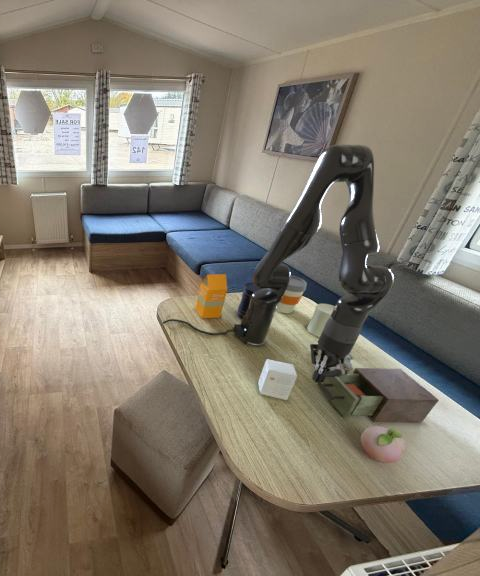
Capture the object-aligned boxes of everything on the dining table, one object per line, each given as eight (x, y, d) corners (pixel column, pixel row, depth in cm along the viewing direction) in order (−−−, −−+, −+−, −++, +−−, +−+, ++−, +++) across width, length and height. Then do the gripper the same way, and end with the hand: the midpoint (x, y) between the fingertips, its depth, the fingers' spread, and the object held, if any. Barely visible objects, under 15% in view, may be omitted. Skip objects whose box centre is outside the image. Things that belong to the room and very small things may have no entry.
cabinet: (373, 422, 91) (388, 399, 87) (343, 389, 103) (355, 367, 98) (421, 422, 92) (439, 400, 87) (386, 390, 103) (400, 368, 98)
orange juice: (195, 309, 145) (203, 270, 136) (212, 308, 146) (222, 270, 137) (201, 318, 138) (210, 278, 129) (220, 317, 139) (230, 278, 130)
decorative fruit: (362, 435, 87) (378, 411, 82) (398, 459, 81) (418, 434, 76) (347, 452, 83) (363, 427, 78) (385, 478, 77) (405, 453, 72)
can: (336, 333, 131) (347, 310, 125) (326, 341, 126) (338, 316, 120) (312, 323, 137) (322, 300, 132) (302, 329, 133) (312, 306, 127)
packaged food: (349, 375, 109) (355, 364, 106) (310, 360, 115) (315, 349, 113) (351, 363, 115) (356, 352, 112) (314, 349, 121) (318, 339, 119)
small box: (283, 388, 102) (294, 364, 97) (287, 401, 98) (298, 376, 93) (257, 382, 104) (266, 358, 100) (259, 394, 100) (268, 369, 95)
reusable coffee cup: (295, 305, 151) (305, 277, 144) (298, 317, 141) (309, 289, 134) (266, 299, 156) (275, 272, 148) (267, 311, 145) (277, 283, 138)
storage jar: (234, 309, 146) (241, 281, 139) (255, 311, 145) (264, 283, 138) (239, 321, 137) (248, 292, 130) (262, 323, 136) (272, 294, 129)
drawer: (329, 417, 91) (340, 398, 88) (306, 388, 101) (314, 370, 98) (389, 418, 92) (402, 400, 88) (360, 389, 102) (370, 371, 98)
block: (344, 405, 94) (350, 395, 92) (334, 394, 98) (340, 384, 96) (358, 406, 94) (365, 395, 92) (348, 394, 98) (354, 384, 96)
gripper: (311, 320, 90) (291, 365, 98) (343, 349, 78) (318, 398, 86) (336, 320, 90) (315, 366, 98) (372, 349, 78) (345, 398, 86)
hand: (316, 381), depth 92 cm, fingers closed
